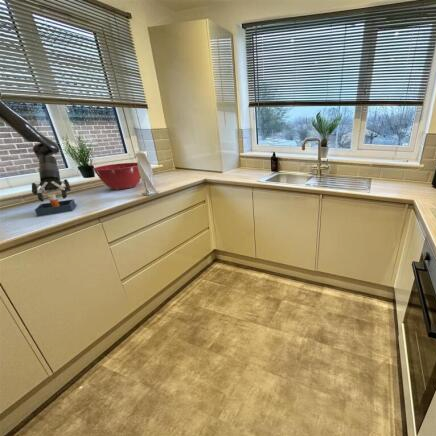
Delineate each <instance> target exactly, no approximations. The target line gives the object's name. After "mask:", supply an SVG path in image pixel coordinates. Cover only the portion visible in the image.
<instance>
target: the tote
mask: <svg viewBox="0 0 436 436" xmlns="http://www.w3.org/2000/svg"><path fill="white" fill-rule="evenodd" d="M58 203H59V205H60V206H55V207H52V205H51V202H43V203H40V204H39V205H38V206H37V207H36V208H34V212H35V214H36V216H37V217H45V216H50V215H56V214H63V213H68V212H69V213H70V212H73V211H74V209H75V208H76V206H77V205H76V202H75V199H65V200H58Z"/></svg>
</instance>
